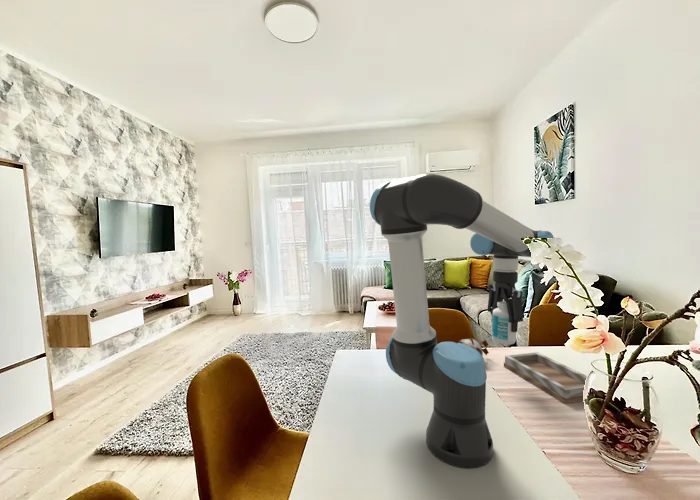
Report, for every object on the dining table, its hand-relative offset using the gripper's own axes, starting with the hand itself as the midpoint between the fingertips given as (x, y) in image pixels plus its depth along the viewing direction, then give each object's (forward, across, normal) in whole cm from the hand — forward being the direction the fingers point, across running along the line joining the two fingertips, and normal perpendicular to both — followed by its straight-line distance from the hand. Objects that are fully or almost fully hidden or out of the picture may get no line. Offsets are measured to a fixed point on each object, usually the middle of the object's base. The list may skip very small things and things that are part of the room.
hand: (503, 336), depth 111 cm
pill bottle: (+2, 0, 0) cm, 2 cm away
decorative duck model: (+14, +17, +3) cm, 22 cm away
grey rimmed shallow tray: (+14, -6, -14) cm, 20 cm away
